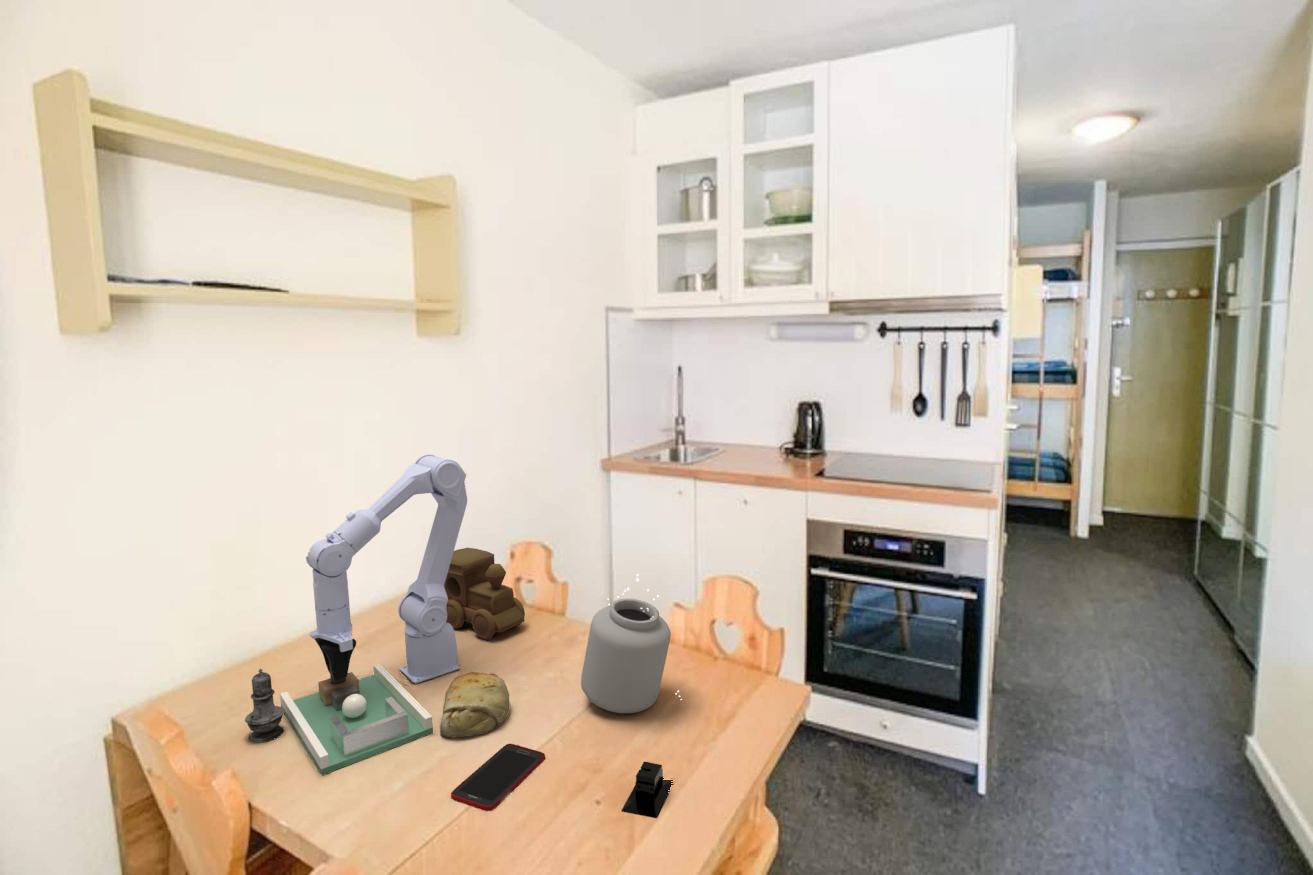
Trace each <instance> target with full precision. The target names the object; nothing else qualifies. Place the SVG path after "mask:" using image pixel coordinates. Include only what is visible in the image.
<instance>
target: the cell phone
mask: <svg viewBox="0 0 1313 875" xmlns="http://www.w3.org/2000/svg"><path fill="white" fill-rule="evenodd" d="M545 759H546V754H545V753H544V752H542V751H539V750H536V749H532V748H530V747H529V748H528V747H525V746H521V745H519V744H514V743H507V744H504V746H503V747H501V748H500V749H499V750H498V751H497V752H495V753H494V754H492V756H491V757H490V758H488V759H487V760H486V761H485V762H484V763H483V764H481V766H479V767H478V768H477V769H476V770H474V772H472V773H471V774H470V775H469V776H468V777H466V778H465V779H464V780H463V781H462V782H461V783H460V784H459V785H458V786H456V787H455V788H453V790H452V791H451V794H450V798H451V800H453V801H455V802H458V803H461V804H465V805H468V806H470V807H473V808H476V809H480V810H482V811H487V812H491V811H493V810H494V809H495V808H497V806H499V805H500V804H501V803H502V802H503V800H504V799H505V798H506V797H507V796H508V795H509V794H510V793H512V792H513V791H514V790H515V789H516V788H518V786H519V785H520V784H521V783H523V781H524V780H525V779H526V778H527V777H528V776H530V774H532V772H534V770H535V769H536V768H538V767H539V766H540V764H541V763H543V761H544V760H545Z"/></svg>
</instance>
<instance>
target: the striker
mask: <svg viewBox="0 0 1313 875" xmlns="http://www.w3.org/2000/svg"><path fill="white" fill-rule="evenodd" d="M329 666H330V663H329ZM329 676H330V677H329V678H326V679H325V680H320V681H318V685H317V686H318V692H319V697H320V698H321V700H322V701H323V703H324V704H325V705H329V704H332V705H333V706H334V708H335V709H336V710H339V709H342V705H343V702H344V700H345V699H346V698H347V697H348V696H350V695H352V694H360V691H359V678H358V677H357V676H356V675H355V674H354V673H353V672H352V671H351V672H348V674H347V677H345V678H341V679H338V680H335V679H334V677H333V674H332V671H331V667H330V673H329Z"/></svg>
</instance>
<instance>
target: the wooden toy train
mask: <svg viewBox="0 0 1313 875" xmlns="http://www.w3.org/2000/svg"><path fill="white" fill-rule="evenodd" d="M506 574H507V571H506V570H505V568H504V567H503V566H502V564H500V563H495V553H492V552H489V551H488V550H483V549H479V548H474V547H464V548H460V549H459V548H458V549H454V552H453V555H452V559H451V563H450V566H449V570H448V573H447V577H446V580H445V584H444V588H445V591H446V594H447V597H448V602H447V606H446V610H447V621H446V623H449V624H451V626H452V627H453V629H454V630H457V629H461V628H462V627H463V626H464V624H465V622H466V623H470V624H471V625H472V628H473V631H474V632H475V634H476V635H477V636H478V638H480V639H482V640H488V641H489V640H490V639H492V637H494V636H495V634H496V632H497V633H502V632H504V631H507V630H508V629H511V628H513V627H518V626H520V625H522V623H524V622H525V614H526V612H525V608H524V606H523V603H522V602H521V601H520V600H519V599H518V598H516V597H514V595H515V594H514V588H513V587H509V586H507V585H504V584H503V582H504V579H505V577H506Z"/></svg>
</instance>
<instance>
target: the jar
mask: <svg viewBox="0 0 1313 875" xmlns="http://www.w3.org/2000/svg"><path fill="white" fill-rule="evenodd" d="M635 576H636V577H639V574H638V573H637V574H636V575H635ZM635 581H636V582H639V581H640V579H639V578H636V580H635ZM627 591H630V588H629V587H627V588H626V589H624V590H623V593H622V596H624V593H626V592H627ZM646 591H647V592H649V589H647V590H646ZM656 597H657V598H659V597H660V596H659V594H658V595H656ZM617 598H618V599H615V600H614V601H613V602H612V603H611V604H610V603H608V606H606V607H605V606H604V607H602V608H601V609H599V611H597V612H596V613H595V614H594V615H593V618H592V620H591V623H590V627H589V634H588V638H587V644H586V650H585V655H584V659H583V660H584V661H583V664H582V665H583V666H582V671H581V677H580V678H581V679H580V686H581V690H582V691H583V693H584V695H585V697H586V698H587V699H588V700H589V701H590V702H591V703H592V704H594V705H595V706H597V707H599V708H601V709H603V710H606V711H608V712H612V713H617V714H636V713H640V712H643V711H645V710H647V709H649V708H650V707H651V706H653V704H655V702H656V700H657V699H658V697H659V693H660V689H661V684H662V680H663V679H662V678H663V676H664V670H665V666H666V665H665V664H666V661H667V660H666V659H667V655H668V651H669V646H670V643H671V635H672V633H671V632H672V631H671V629H670V626H669V625H668V623H667V622H666V621H665V619H664V618H663V617H661V616H660V612H659V610H658V609H657V608H656V607H655V606H654V605H652V604H650V603H649V602H646V601H643V600H641V599H640V600H639V599H634V598H620V596H617ZM619 598H620V599H619ZM607 600H608V601H609V600H610V599H609V598H607ZM652 600H653V601H655V598H653V599H652ZM678 693H680V690H677V692H675V695H677V694H678ZM678 697H679V698H681V695H678ZM681 700H683V698H681V699H680V701H681Z"/></svg>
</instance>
